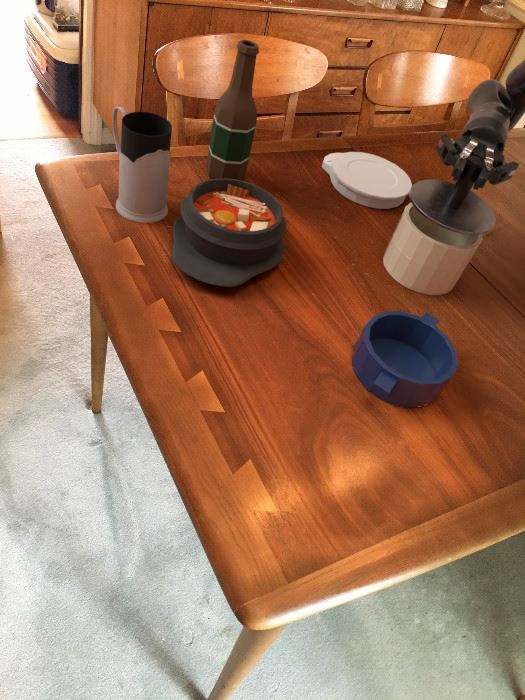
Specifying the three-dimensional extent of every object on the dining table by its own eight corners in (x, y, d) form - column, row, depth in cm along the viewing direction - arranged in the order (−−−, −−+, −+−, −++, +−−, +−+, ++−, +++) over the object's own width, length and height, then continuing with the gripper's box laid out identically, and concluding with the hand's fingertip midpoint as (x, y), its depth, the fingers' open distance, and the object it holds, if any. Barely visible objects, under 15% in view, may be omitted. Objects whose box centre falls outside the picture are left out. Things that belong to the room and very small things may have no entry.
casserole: (206, 193, 102) (213, 151, 96) (300, 230, 100) (313, 189, 94) (141, 267, 85) (144, 221, 79) (253, 312, 83) (265, 269, 77)
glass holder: (132, 228, 91) (136, 142, 80) (90, 182, 97) (88, 96, 86) (177, 216, 95) (187, 133, 85) (134, 173, 101) (138, 91, 91)
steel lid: (509, 238, 89) (541, 189, 82) (432, 238, 84) (460, 185, 78) (465, 186, 98) (491, 138, 91) (393, 183, 93) (415, 132, 86)
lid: (351, 151, 126) (355, 138, 124) (421, 197, 118) (427, 184, 116) (301, 168, 116) (305, 155, 113) (375, 219, 108) (380, 206, 106)
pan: (458, 359, 86) (475, 336, 82) (413, 437, 73) (430, 413, 70) (382, 314, 89) (395, 289, 85) (326, 381, 77) (338, 356, 73)
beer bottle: (230, 161, 112) (254, 32, 94) (252, 182, 108) (281, 52, 91) (197, 166, 107) (216, 33, 90) (219, 188, 104) (243, 54, 87)
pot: (465, 271, 103) (492, 226, 95) (439, 306, 94) (467, 260, 87) (400, 236, 106) (422, 190, 99) (370, 267, 97) (392, 219, 90)
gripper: (454, 102, 94) (435, 139, 82) (534, 133, 92) (526, 175, 80) (435, 143, 99) (414, 183, 87) (510, 173, 97) (499, 218, 86)
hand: (468, 179), depth 84 cm, fingers closed on steel lid, 2 cm apart
